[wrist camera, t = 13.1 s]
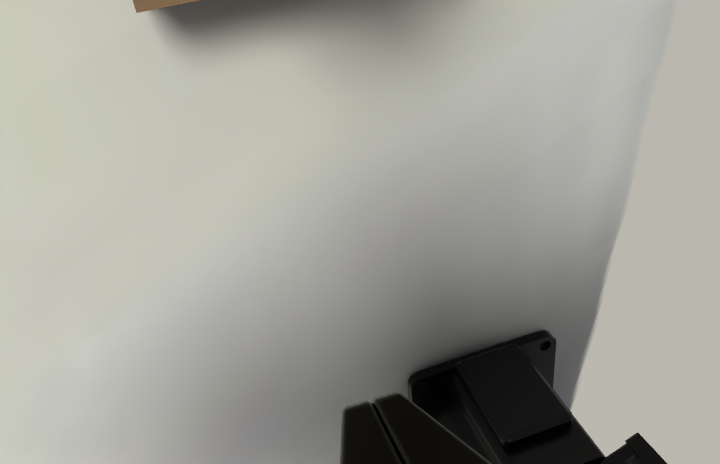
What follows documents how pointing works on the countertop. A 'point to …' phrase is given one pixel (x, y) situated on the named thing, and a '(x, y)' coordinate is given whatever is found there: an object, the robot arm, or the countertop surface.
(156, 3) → the board
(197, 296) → the countertop surface
